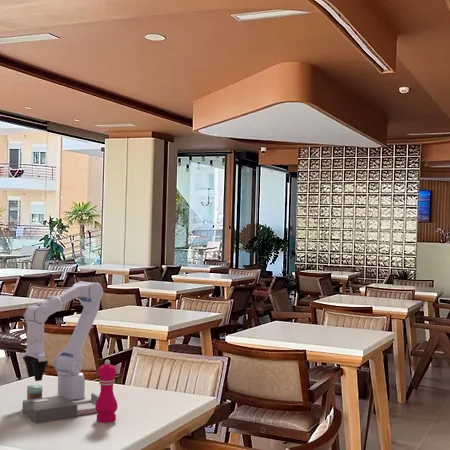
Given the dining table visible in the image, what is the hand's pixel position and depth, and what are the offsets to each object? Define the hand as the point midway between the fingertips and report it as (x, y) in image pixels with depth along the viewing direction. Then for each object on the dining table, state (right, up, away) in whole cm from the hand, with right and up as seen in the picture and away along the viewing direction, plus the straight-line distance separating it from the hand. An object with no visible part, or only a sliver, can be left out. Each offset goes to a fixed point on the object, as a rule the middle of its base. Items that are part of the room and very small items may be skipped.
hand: (34, 378), depth 231 cm
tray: (+18, -10, -3) cm, 21 cm away
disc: (0, -5, 0) cm, 5 cm away
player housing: (+8, -10, -10) cm, 16 cm away
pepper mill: (+28, -11, -15) cm, 33 cm away
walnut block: (0, -10, 0) cm, 10 cm away
